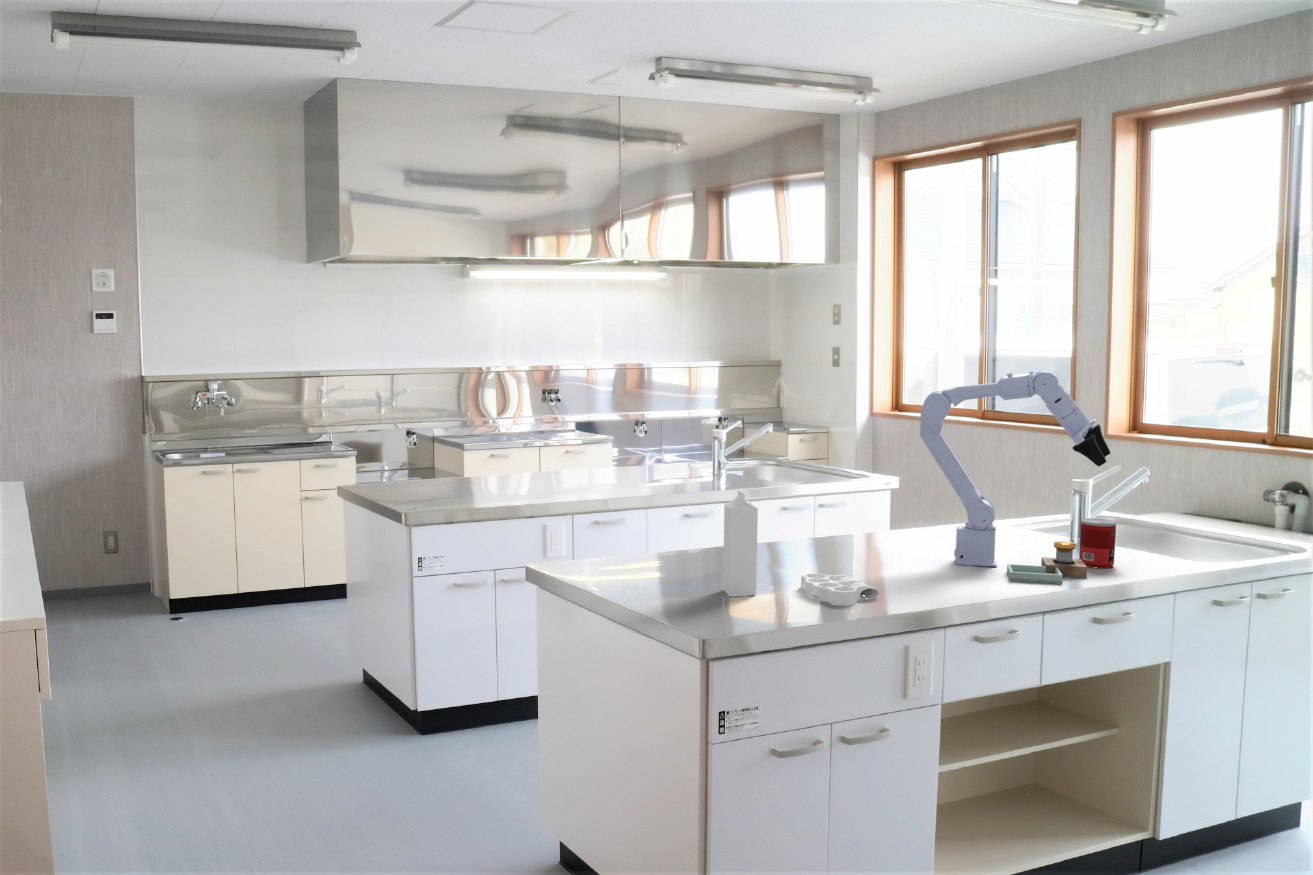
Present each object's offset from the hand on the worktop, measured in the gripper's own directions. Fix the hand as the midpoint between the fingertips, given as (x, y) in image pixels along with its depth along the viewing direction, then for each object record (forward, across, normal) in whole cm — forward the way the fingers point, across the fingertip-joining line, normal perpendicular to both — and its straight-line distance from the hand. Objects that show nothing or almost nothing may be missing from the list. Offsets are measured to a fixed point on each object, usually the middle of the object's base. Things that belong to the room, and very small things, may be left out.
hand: (1104, 459), depth 256 cm
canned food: (+21, +2, +18) cm, 28 cm away
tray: (+11, -20, +24) cm, 33 cm away
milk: (-28, -69, +60) cm, 96 cm away
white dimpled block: (-15, -60, +47) cm, 78 cm away
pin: (+16, -10, +21) cm, 28 cm away
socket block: (+16, -10, +21) cm, 28 cm away
